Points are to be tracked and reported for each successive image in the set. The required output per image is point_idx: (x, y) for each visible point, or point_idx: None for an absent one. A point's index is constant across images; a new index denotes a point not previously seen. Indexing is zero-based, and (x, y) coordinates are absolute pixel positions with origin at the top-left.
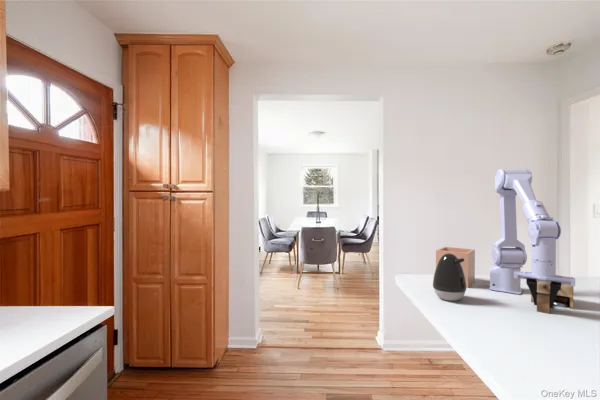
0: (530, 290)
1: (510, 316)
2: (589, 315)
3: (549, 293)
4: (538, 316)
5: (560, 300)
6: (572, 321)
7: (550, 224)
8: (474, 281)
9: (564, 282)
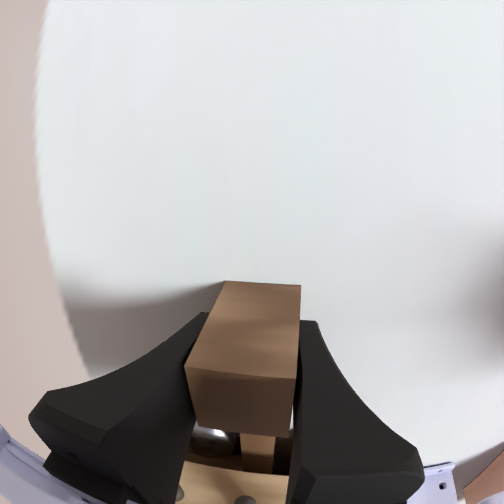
0: (361, 401)
1: (450, 49)
2: (88, 347)
3: (228, 471)
4: (286, 162)
5: (203, 459)
6: (106, 197)
7: None
8: (465, 488)
9: (31, 468)
